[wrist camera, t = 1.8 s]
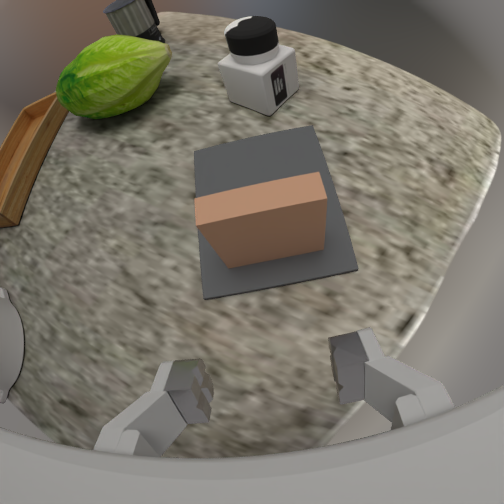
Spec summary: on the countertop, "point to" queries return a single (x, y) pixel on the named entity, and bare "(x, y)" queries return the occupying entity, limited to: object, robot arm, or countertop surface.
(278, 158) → the mat
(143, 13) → the milk frother
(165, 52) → the lettuce
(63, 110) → the tray
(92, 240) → the countertop surface
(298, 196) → the block
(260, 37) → the container
